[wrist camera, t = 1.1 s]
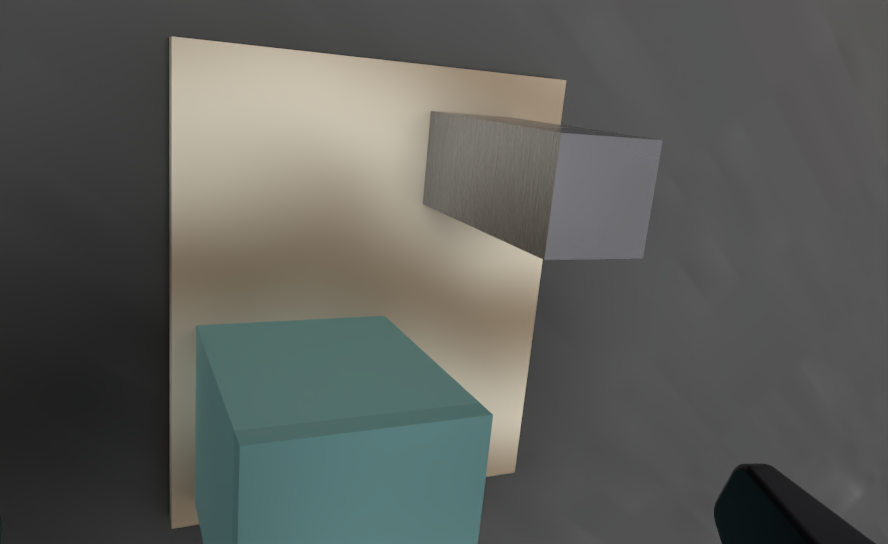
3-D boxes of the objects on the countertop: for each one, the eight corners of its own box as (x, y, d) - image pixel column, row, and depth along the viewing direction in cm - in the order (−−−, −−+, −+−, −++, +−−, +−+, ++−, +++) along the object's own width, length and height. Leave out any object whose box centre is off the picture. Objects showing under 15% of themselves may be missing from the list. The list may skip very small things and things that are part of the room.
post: (492, 202, 22) (643, 258, 16) (414, 200, 21) (544, 259, 15) (502, 116, 21) (662, 140, 15) (422, 109, 20) (561, 132, 14)
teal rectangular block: (372, 476, 22) (468, 623, 16) (194, 502, 20) (234, 684, 14) (384, 315, 21) (492, 414, 15) (196, 325, 19) (240, 446, 13)
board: (505, 463, 25) (514, 472, 25) (169, 516, 20) (171, 528, 20) (555, 79, 22) (566, 80, 21) (169, 36, 17) (171, 36, 17)
